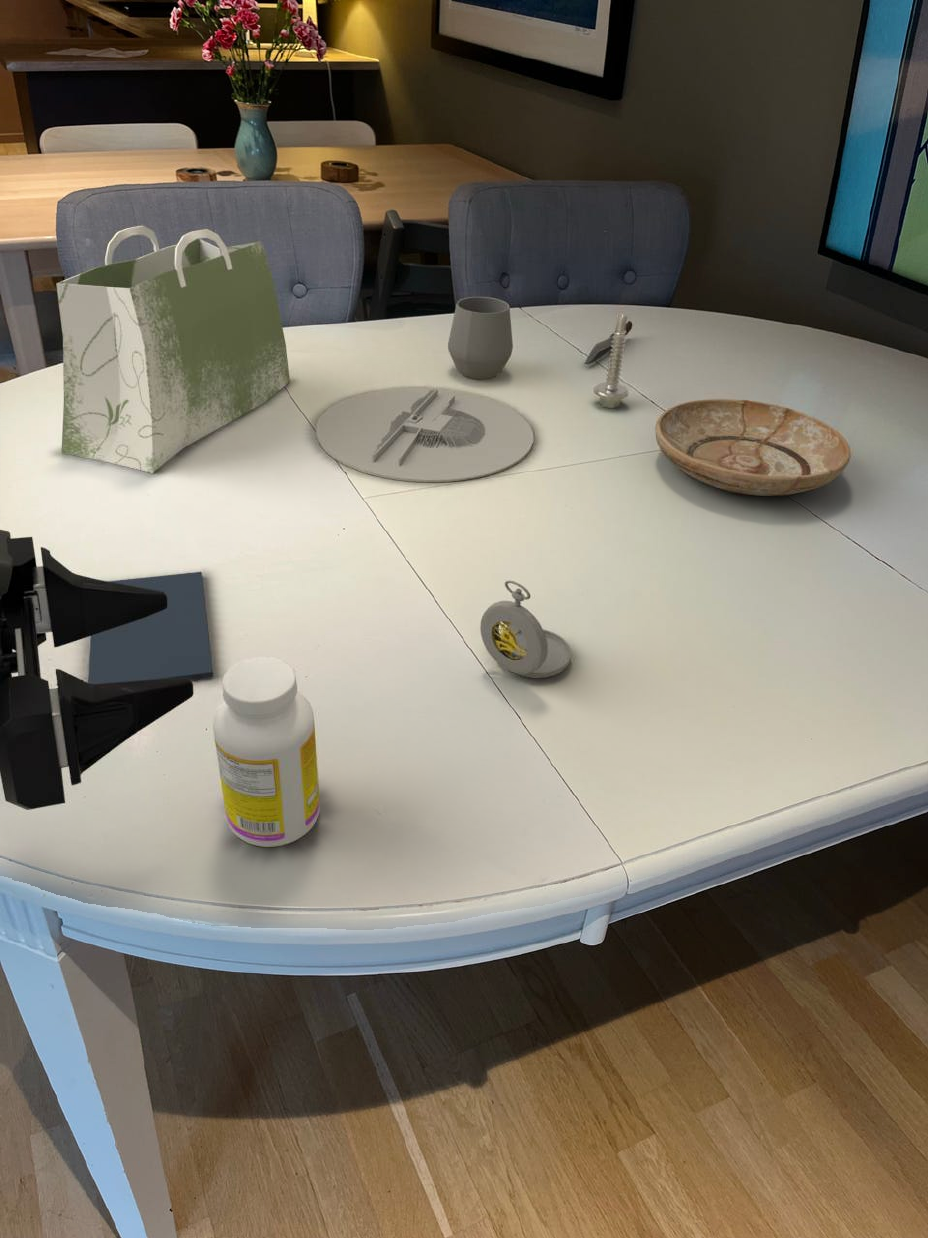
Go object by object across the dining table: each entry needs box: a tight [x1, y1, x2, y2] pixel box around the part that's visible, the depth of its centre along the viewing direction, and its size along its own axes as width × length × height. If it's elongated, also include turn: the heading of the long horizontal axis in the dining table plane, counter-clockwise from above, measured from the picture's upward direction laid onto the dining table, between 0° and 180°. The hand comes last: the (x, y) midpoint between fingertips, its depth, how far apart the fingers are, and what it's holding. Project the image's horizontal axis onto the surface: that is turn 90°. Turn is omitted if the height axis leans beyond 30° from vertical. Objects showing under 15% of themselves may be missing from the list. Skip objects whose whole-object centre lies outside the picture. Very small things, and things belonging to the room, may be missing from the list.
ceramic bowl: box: [654, 398, 851, 497], centre depth 117 cm, size 23×24×5 cm
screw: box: [593, 311, 630, 409], centre depth 130 cm, size 13×5×5 cm
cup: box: [447, 296, 514, 380], centre depth 138 cm, size 10×9×10 cm
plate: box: [315, 387, 534, 483], centre depth 123 cm, size 28×28×1 cm
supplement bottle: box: [212, 656, 321, 848], centre depth 65 cm, size 7×7×13 cm
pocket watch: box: [479, 580, 572, 679], centre depth 82 cm, size 8×8×10 cm
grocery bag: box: [55, 225, 291, 474], centre depth 117 cm, size 32×14×23 cm, turn 159°
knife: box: [583, 320, 633, 365], centre depth 150 cm, size 18×2×3 cm, turn 150°
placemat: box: [87, 571, 214, 684], centre depth 86 cm, size 16×10×1 cm, turn 16°
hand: (179, 641), depth 58 cm, fingers open, 9 cm apart
